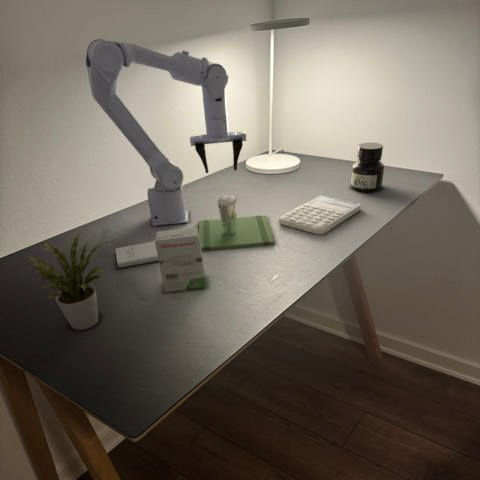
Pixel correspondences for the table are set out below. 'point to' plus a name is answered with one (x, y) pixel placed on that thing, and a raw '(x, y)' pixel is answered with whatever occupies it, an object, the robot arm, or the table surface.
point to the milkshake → (228, 214)
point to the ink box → (180, 259)
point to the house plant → (73, 285)
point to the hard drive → (136, 254)
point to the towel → (246, 235)
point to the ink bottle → (368, 168)
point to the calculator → (320, 214)
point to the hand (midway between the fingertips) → (221, 170)
